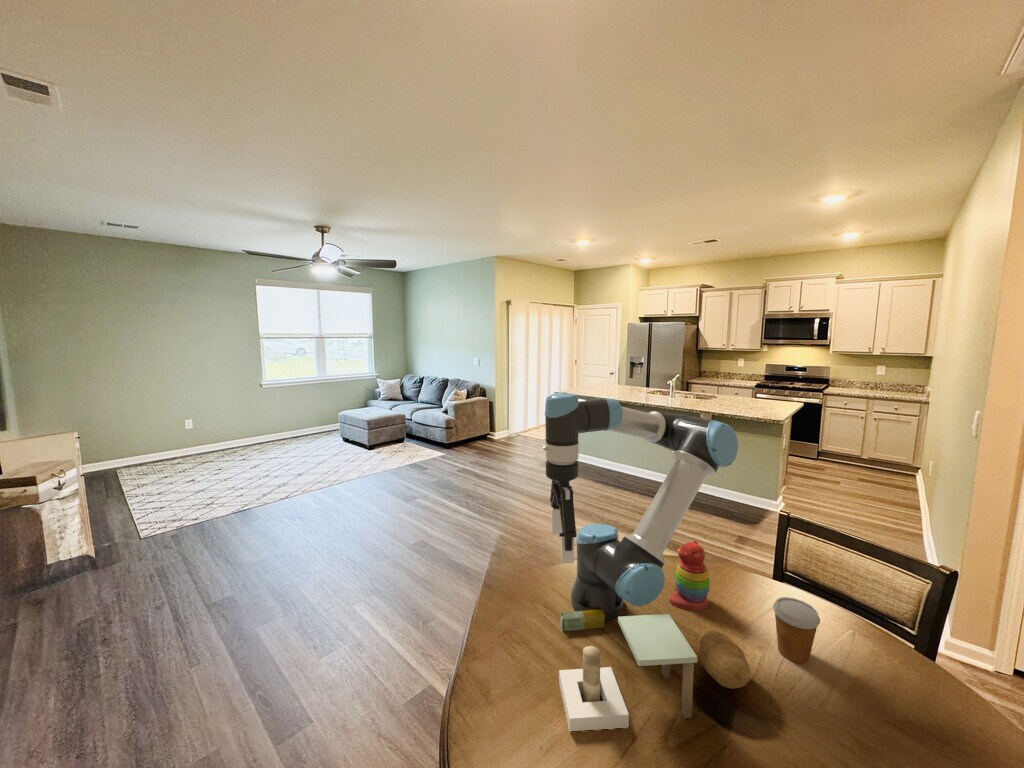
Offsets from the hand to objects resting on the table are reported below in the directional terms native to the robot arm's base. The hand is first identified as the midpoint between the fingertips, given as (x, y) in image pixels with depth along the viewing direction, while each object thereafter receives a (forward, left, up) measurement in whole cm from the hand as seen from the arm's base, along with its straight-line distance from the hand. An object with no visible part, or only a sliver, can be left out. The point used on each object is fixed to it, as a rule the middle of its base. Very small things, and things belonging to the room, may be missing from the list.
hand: (561, 547), depth 97 cm
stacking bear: (-19, +42, -29) cm, 54 cm away
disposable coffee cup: (+3, +57, -29) cm, 64 cm away
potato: (+8, +36, -29) cm, 47 cm away
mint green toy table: (+12, +18, -29) cm, 36 cm away
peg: (+13, +4, -29) cm, 32 cm away
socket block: (+13, +4, -29) cm, 32 cm away
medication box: (-11, +8, -29) cm, 32 cm away
